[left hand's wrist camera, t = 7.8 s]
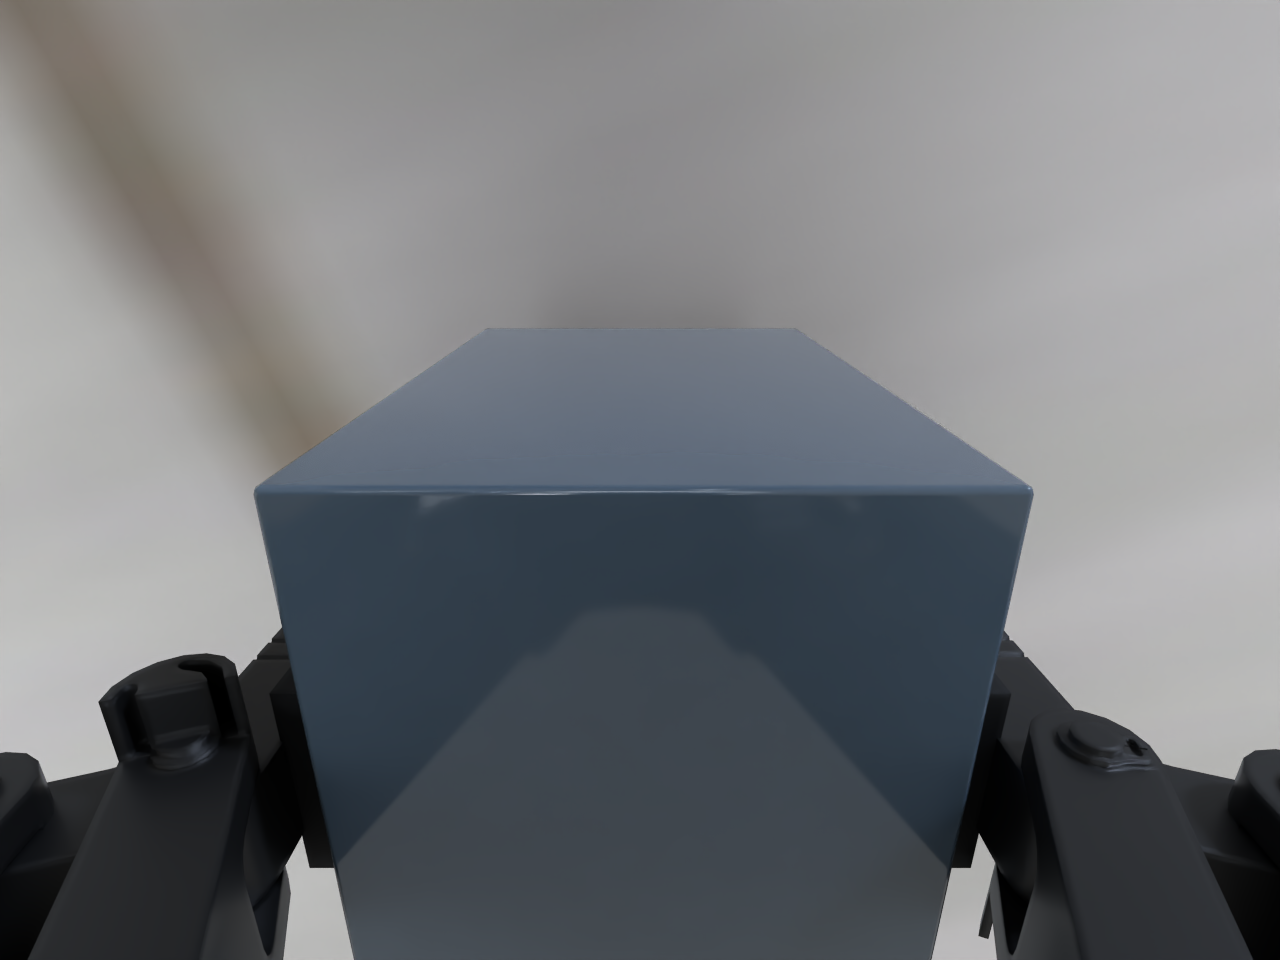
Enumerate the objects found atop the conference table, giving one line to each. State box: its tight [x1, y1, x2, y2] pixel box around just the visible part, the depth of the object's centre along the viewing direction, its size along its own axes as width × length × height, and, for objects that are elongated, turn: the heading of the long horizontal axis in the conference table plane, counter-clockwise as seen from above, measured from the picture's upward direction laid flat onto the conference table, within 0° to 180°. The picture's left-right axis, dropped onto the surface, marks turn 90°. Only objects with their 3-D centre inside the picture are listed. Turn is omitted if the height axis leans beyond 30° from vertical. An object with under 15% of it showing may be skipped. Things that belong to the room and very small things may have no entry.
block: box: [254, 328, 1034, 960], centre depth 12 cm, size 7×8×10 cm
